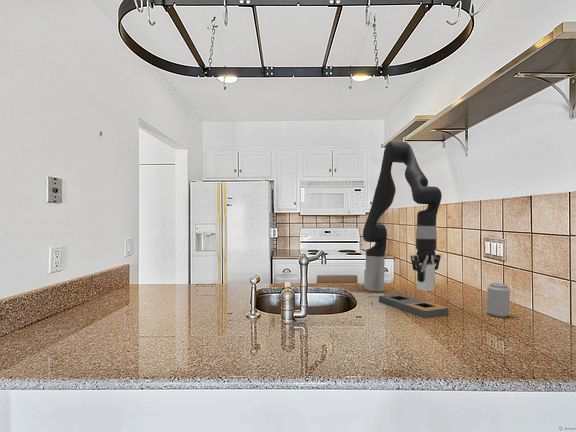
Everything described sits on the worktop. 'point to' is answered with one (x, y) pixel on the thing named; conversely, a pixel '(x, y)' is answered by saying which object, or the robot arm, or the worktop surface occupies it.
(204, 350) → the worktop surface
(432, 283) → the peg
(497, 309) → the can
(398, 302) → the grey peg board
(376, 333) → the worktop surface
